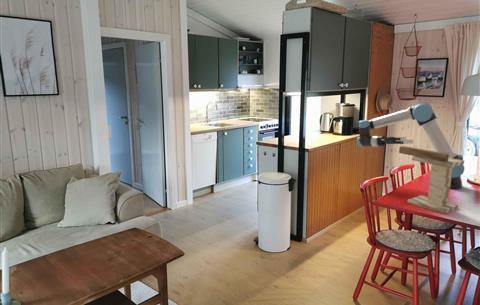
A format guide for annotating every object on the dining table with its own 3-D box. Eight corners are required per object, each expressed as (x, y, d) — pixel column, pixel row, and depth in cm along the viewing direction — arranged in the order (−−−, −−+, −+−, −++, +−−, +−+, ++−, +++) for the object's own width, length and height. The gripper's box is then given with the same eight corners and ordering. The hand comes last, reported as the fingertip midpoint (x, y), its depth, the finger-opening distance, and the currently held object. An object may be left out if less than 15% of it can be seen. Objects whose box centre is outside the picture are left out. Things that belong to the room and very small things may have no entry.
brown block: (402, 152, 228) (403, 145, 227) (448, 160, 206) (449, 154, 205) (398, 152, 226) (399, 146, 225) (444, 161, 203) (445, 154, 202)
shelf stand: (421, 197, 232) (427, 153, 225) (457, 208, 214) (464, 160, 208) (407, 202, 223) (412, 156, 217) (443, 213, 205) (450, 163, 199)
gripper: (385, 148, 267) (415, 147, 252) (370, 144, 250) (402, 143, 235) (385, 138, 268) (416, 137, 253) (371, 133, 250) (402, 132, 235)
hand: (409, 140), depth 244 cm, fingers open, 13 cm apart
